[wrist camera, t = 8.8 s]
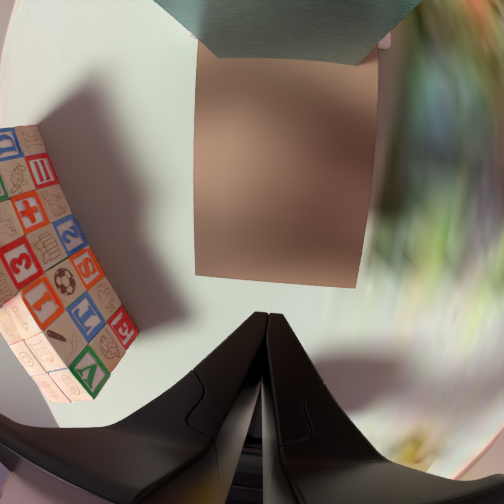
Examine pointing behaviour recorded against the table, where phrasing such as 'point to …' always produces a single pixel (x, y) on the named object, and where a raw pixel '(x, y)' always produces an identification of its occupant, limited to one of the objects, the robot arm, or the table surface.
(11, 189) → the stack of blocks
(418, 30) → the table surface
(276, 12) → the grey rectangular block
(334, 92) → the beam
